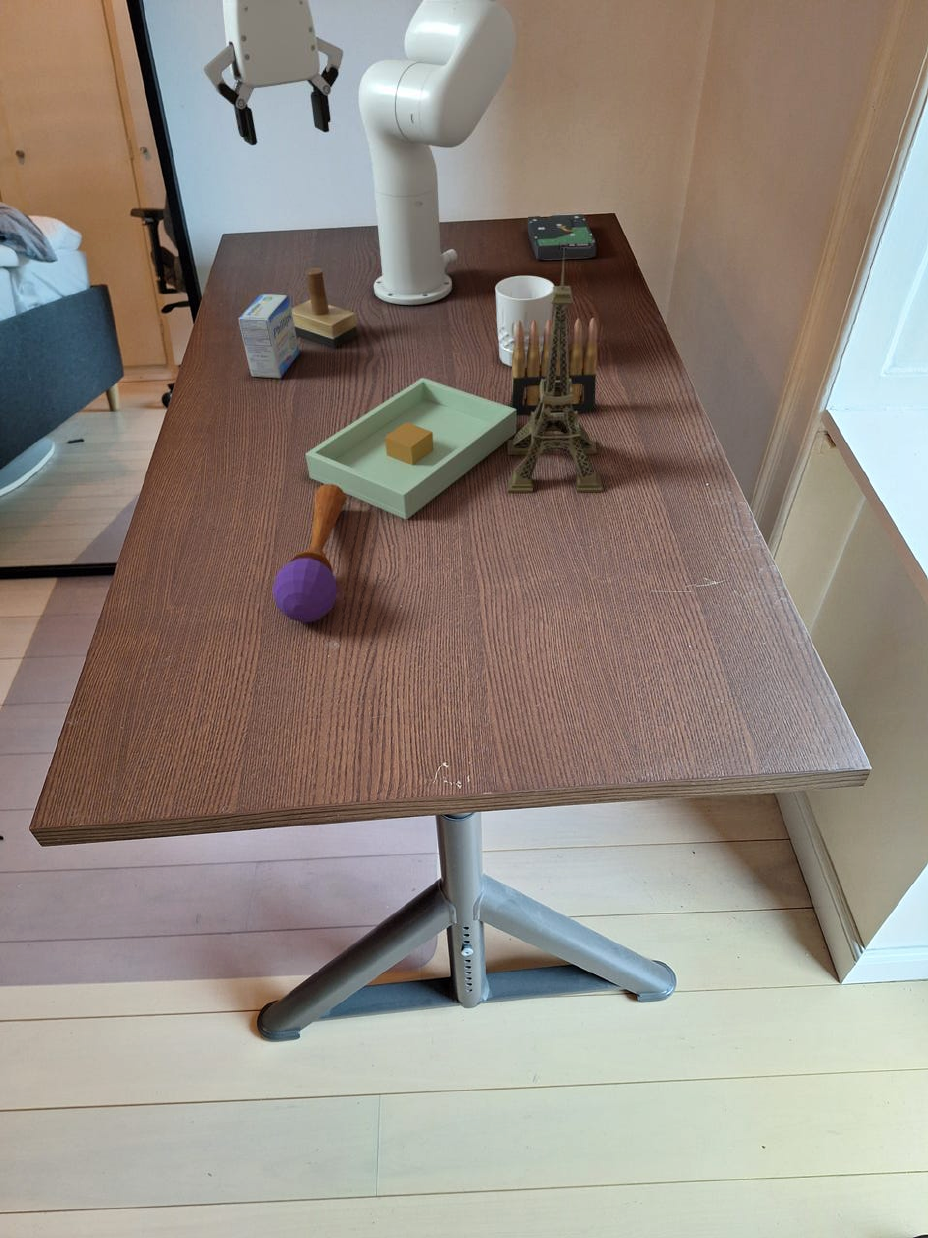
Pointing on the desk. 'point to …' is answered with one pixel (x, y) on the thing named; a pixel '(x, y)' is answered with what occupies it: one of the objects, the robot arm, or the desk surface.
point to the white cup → (522, 311)
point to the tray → (402, 489)
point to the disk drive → (561, 237)
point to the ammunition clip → (576, 372)
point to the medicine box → (269, 336)
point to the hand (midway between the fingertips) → (286, 135)
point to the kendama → (311, 565)
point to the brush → (322, 315)
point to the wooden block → (409, 443)
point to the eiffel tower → (543, 421)
